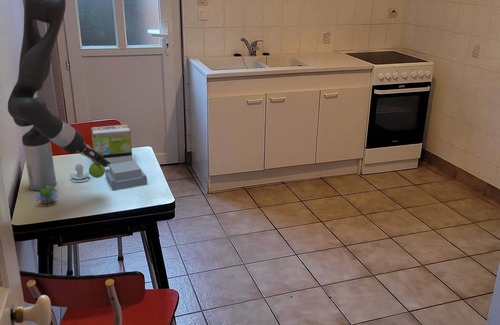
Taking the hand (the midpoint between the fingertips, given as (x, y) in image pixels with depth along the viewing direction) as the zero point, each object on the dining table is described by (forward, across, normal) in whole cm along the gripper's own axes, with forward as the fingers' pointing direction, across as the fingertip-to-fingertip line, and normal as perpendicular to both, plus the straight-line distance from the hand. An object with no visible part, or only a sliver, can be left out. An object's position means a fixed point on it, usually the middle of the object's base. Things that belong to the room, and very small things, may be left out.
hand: (101, 161), depth 171 cm
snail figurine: (+3, 0, +5) cm, 6 cm away
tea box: (+24, +28, -4) cm, 37 cm away
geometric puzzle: (-2, +8, +22) cm, 24 cm away
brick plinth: (+18, +6, 0) cm, 19 cm away
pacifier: (+11, +20, +9) cm, 24 cm away
